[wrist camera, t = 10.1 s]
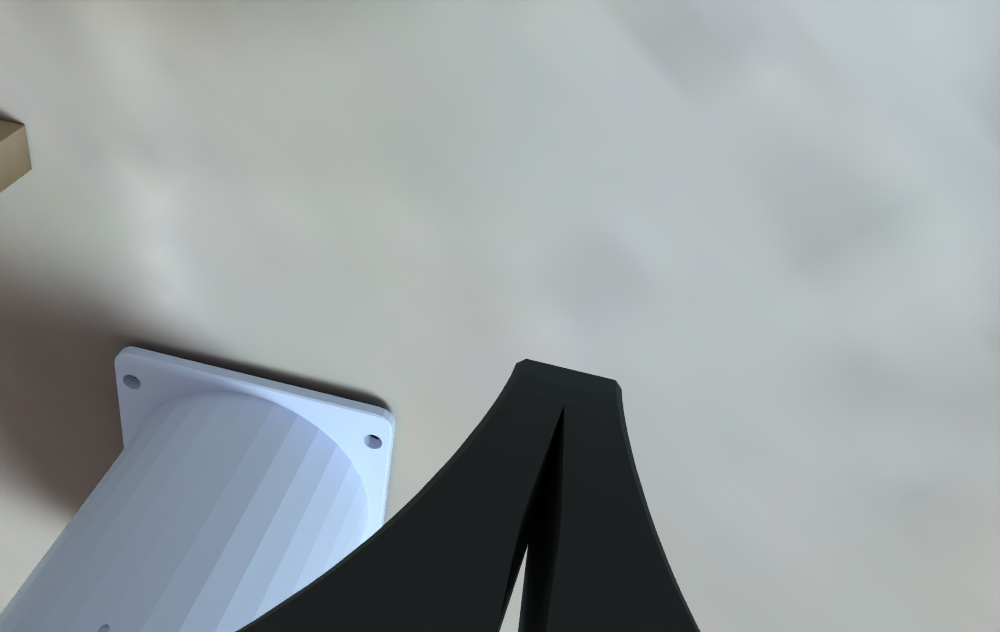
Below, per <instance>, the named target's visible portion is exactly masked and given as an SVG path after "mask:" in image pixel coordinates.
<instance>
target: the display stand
mask: <svg viewBox="0 0 1000 632" xmlns="http://www.w3.org/2000/svg"><path fill="white" fill-rule="evenodd" d="M30 170H31V162H30V156H29V149H28V143H27V136H26V130H25V125H21V124H16V123H12V122H8V121H4V120H0V192H2V191H3V190H4V189H6V188H7V187H8V186H10V185H11V184H12V183H14V182H15V181H16V180H18V179H19V178H20V177H22V176H23V175H24V174H26V173H27V172H28V171H30Z"/></svg>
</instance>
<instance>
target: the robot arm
mask: <svg viewBox="0 0 1000 632" xmlns="http://www.w3.org/2000/svg"><path fill="white" fill-rule="evenodd" d="M114 365H115V374H116V383H117V391H118V400H119V409H120V418H121V427H122V435H123V444H124V450H123V451H122V452H121V454H120V455H119V456H118V458H117V459H116V460H115V462H114V463H113V464H112V466H111V467H110V468H109V470H108V471H107V473H106V474H105V475H104V477H103V478H102V479H101V481H100V482H99V483H98V485H97V486H96V487H95V489H94V490H93V491H92V493H91V494H90V495H89V497H88V498H87V499H86V501H85V502H84V503H83V505H82V506H81V507H80V509H79V510H78V511H77V513H76V514H75V515H74V517H73V518H72V519H71V521H70V522H69V523H68V525H67V526H66V527H65V529H64V530H63V531H62V533H61V534H60V535H59V537H58V538H57V539H56V541H55V542H54V543H53V545H52V546H51V547H50V549H49V550H48V551H47V553H46V554H45V555H44V557H43V558H42V559H41V561H40V562H39V563H38V565H37V566H36V567H35V569H34V570H33V571H32V573H31V574H30V575H29V577H28V578H27V579H26V581H25V582H24V583H23V585H22V586H21V587H20V589H19V590H18V591H17V593H16V594H15V595H14V597H13V598H12V599H11V601H10V602H9V603H8V605H7V606H6V607H5V609H4V610H3V611H2V613H1V614H0V632H499V631H500V628H501V625H502V622H503V619H504V616H505V613H506V610H507V607H508V604H509V601H510V598H511V595H512V592H513V588H514V585H515V582H516V579H517V576H518V573H519V570H520V567H521V564H522V561H523V558H524V555H525V552H526V549H527V546H528V550H527V558H526V567H525V576H524V584H523V593H522V602H521V611H520V620H519V628H518V632H700V630H699V628H698V626H697V624H696V622H695V620H694V618H693V616H692V614H691V612H690V610H689V608H688V606H687V603H686V601H685V599H684V597H683V595H682V593H681V591H680V588H679V586H678V584H677V582H676V579H675V577H674V575H673V572H672V570H671V568H670V565H669V563H668V560H667V558H666V555H665V553H664V550H663V547H662V545H661V542H660V540H659V537H658V534H657V532H656V529H655V526H654V523H653V520H652V517H651V515H650V512H649V509H648V506H647V502H646V499H645V496H644V493H643V489H642V486H641V483H640V479H639V476H638V473H637V469H636V466H635V462H634V458H633V454H632V450H631V446H630V441H629V437H628V432H627V427H626V422H625V416H624V410H623V402H622V389H621V388H620V386H619V385H618V383H617V382H616V380H612V379H608V378H604V377H600V376H596V375H592V374H587V373H583V372H579V371H575V370H571V369H567V368H562V367H558V366H554V365H550V364H546V363H542V362H537V361H533V360H529V359H525V360H523V361H520V362H518V363H516V365H515V368H514V370H513V372H512V374H511V376H510V378H509V380H508V382H507V384H506V385H505V387H504V389H503V390H502V392H501V393H500V395H499V396H498V398H497V400H496V401H495V402H494V404H493V405H492V407H491V408H490V409H489V411H488V412H487V414H486V415H485V416H484V418H483V419H482V421H481V422H480V423H479V424H478V425H477V427H476V428H475V429H474V430H473V432H472V433H471V434H470V435H469V437H468V438H467V439H466V440H465V442H464V443H463V444H462V445H461V447H460V448H459V449H458V450H457V451H456V453H455V454H454V455H453V456H452V457H451V458H450V459H449V461H448V462H447V463H446V464H445V465H444V466H443V467H442V468H441V469H440V470H439V471H438V472H437V473H436V474H435V475H434V477H433V478H432V479H431V480H430V481H429V482H428V483H427V484H426V485H425V486H424V487H423V488H422V489H421V490H420V491H419V492H418V493H417V494H416V495H415V496H414V497H413V498H412V499H411V500H410V501H409V502H408V503H407V504H406V505H405V506H404V507H403V508H402V509H401V510H400V511H399V512H398V513H397V514H396V515H394V516H393V517H392V518H391V519H390V520H389V521H388V522H387V523H386V524H384V516H385V507H386V499H387V491H388V482H389V474H390V466H391V457H392V449H393V440H394V432H395V419H394V417H393V416H392V414H391V413H390V412H388V411H387V410H386V409H383V408H381V407H378V406H374V405H370V404H366V403H362V402H358V401H354V400H349V399H345V398H341V397H337V396H333V395H329V394H325V393H321V392H317V391H313V390H309V389H305V388H301V387H296V386H292V385H288V384H284V383H280V382H276V381H272V380H268V379H264V378H260V377H256V376H252V375H248V374H244V373H239V372H235V371H231V370H227V369H223V368H219V367H215V366H211V365H207V364H203V363H199V362H195V361H191V360H186V359H182V358H178V357H174V356H170V355H166V354H162V353H158V352H154V351H150V350H146V349H142V348H138V347H130V346H129V347H126V348H123V349H122V351H121V352H120V353H119V354H118V355H117V356H116V358H115V362H114ZM132 375H133V376H135V377H136V378H137V379H139V380H137V379H135V378H134V377H133V376H132ZM370 435H375V436H377V437H379V438H380V439H375V438H373V437H371V436H370ZM383 524H384V525H383Z"/></svg>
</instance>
